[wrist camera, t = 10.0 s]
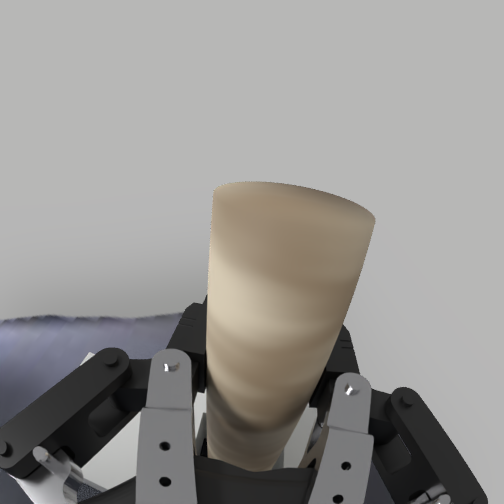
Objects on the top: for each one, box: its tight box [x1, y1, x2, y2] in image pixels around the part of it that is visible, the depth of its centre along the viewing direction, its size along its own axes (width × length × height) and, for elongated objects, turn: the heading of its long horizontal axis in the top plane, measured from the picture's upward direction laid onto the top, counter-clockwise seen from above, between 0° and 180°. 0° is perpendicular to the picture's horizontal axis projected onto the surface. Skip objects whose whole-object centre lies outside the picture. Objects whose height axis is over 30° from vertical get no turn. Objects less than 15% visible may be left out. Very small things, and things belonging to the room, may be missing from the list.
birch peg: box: [206, 182, 375, 472], centre depth 10 cm, size 4×4×15 cm
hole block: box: [80, 352, 317, 492], centre depth 14 cm, size 18×10×4 cm, turn 84°
